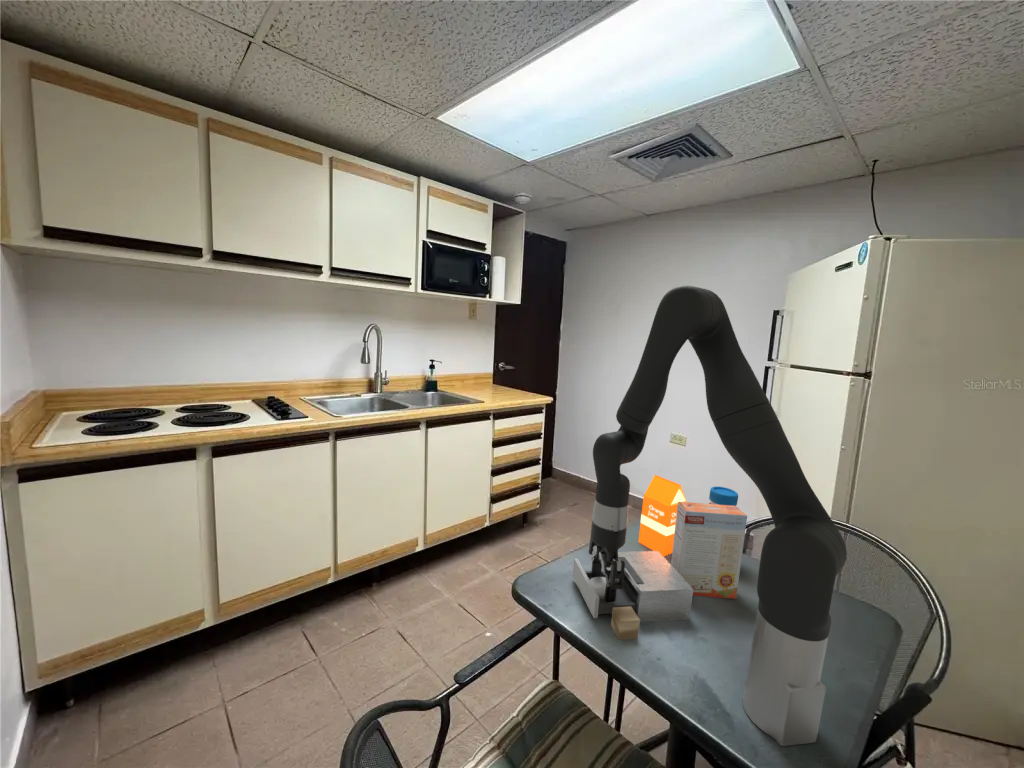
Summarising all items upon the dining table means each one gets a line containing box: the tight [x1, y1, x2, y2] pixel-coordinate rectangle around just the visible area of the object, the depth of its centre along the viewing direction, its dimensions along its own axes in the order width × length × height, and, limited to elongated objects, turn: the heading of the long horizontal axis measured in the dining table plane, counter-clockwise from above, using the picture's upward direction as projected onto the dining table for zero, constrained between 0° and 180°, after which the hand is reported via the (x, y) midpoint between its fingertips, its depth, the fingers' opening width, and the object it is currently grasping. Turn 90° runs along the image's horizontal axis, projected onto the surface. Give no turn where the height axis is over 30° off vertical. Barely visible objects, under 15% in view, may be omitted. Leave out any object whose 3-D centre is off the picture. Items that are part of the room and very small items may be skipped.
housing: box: [618, 550, 693, 623], centre depth 94 cm, size 15×12×7 cm
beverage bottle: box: [708, 486, 739, 507], centre depth 111 cm, size 8×8×20 cm
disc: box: [590, 577, 606, 600], centre depth 93 cm, size 6×6×2 cm
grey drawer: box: [572, 557, 638, 619], centre depth 93 cm, size 15×12×4 cm
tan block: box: [610, 607, 641, 640], centre depth 83 cm, size 4×4×4 cm
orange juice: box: [638, 474, 688, 557], centre depth 117 cm, size 8×9×20 cm
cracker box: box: [670, 501, 748, 600], centre depth 98 cm, size 14×6×21 cm, turn 87°
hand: (602, 588), depth 93 cm, fingers open, 8 cm apart
